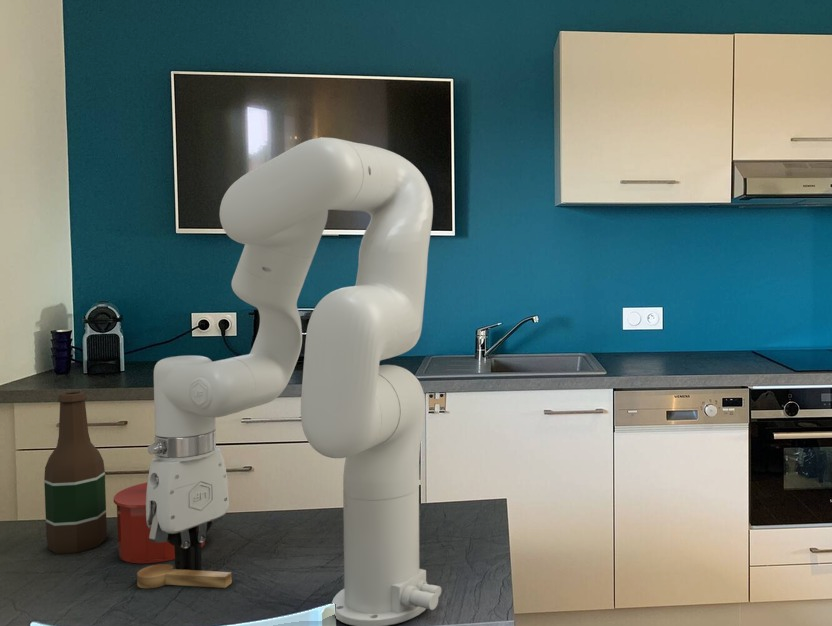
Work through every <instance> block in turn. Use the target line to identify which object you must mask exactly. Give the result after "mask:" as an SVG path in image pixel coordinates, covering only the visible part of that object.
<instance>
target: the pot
mask: <svg viewBox="0 0 832 626" xmlns="http://www.w3.org/2000/svg"><path fill="white" fill-rule="evenodd" d="M116 523H117V549H118V550H117V552H118V556H119V557H118V558H119V559H120V560H122V561H124V562H126V563H131V564H155V563H156V564H158V563H163V562H168V561H173V560H175V546H173V545H171V544H170V543H169V542H160V543H156V542H152V541H150V540H149V535H150V530H151V528H149V527H148V526H147V521H146V508H127V507H121V506H118V505H116ZM205 544H206V540H205V541H204V542H203V543H201V549H202V548H203V547H204V545H205Z"/></svg>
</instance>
